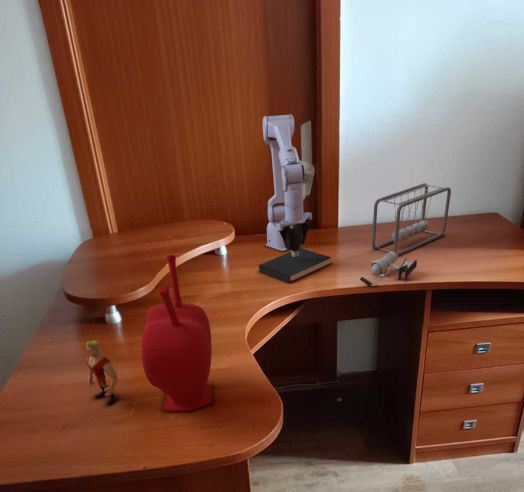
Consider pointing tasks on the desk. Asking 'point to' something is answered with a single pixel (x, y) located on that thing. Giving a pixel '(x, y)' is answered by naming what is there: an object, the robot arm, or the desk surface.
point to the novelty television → (178, 349)
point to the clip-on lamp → (382, 264)
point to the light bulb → (296, 241)
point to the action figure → (100, 370)
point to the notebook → (294, 265)
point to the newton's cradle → (415, 227)
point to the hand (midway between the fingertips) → (294, 246)
